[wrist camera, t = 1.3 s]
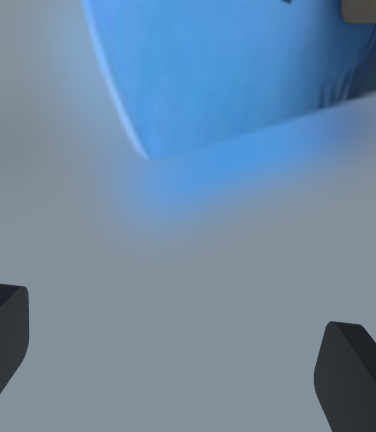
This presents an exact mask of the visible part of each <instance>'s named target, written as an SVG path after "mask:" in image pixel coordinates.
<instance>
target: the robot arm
mask: <svg viewBox="0 0 376 432" xmlns="http://www.w3.org/2000/svg"><path fill="white" fill-rule="evenodd" d="M28 304H29V300H28V290H27V288H26V287H24V286H16V285H7V284H0V393H1V392H2V390H3V389H4V388H5V386H6V385H7V383H8V381H9V380H10V379H11V377H12V376H13V375H14V373H15V371H16V370H17V369H18V367H19V366H20V364H21V363H22V361H23V359H24V357H25V354H26V351H27V348H28V343H29V305H28ZM314 386H315V391H316V394H317V397H318V399H319V402H320V404H321V406H322V409H323V411H324V413H325V415H326V418H327V420H328V422H329V425H330V427H331V429H332V432H376V343H375V341H374V340H373V339H372V338H371V336H370V335H369V334H368V332H367V331H366V330H365V328H364V327H363V326H361V325H359V324H351V323H343V322H334V321H331V322H329V323H328V324H327V326H326V329H325V332H324V336H323V340H322V344H321V347H320V351H319V355H318V359H317V362H316V366H315V370H314Z"/></svg>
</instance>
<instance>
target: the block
mask: <svg viewBox="0 0 376 432" xmlns="http://www.w3.org/2000/svg"><path fill="white" fill-rule="evenodd" d="M341 15H342V17H343V20H344V22H345V23H349V24H374V23H376V0H342V6H341Z"/></svg>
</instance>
